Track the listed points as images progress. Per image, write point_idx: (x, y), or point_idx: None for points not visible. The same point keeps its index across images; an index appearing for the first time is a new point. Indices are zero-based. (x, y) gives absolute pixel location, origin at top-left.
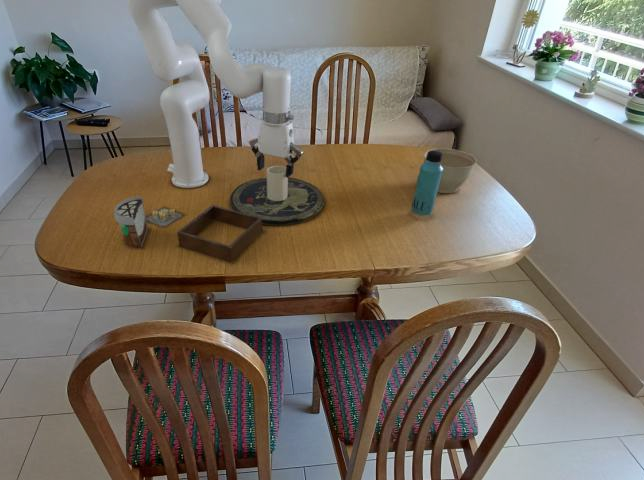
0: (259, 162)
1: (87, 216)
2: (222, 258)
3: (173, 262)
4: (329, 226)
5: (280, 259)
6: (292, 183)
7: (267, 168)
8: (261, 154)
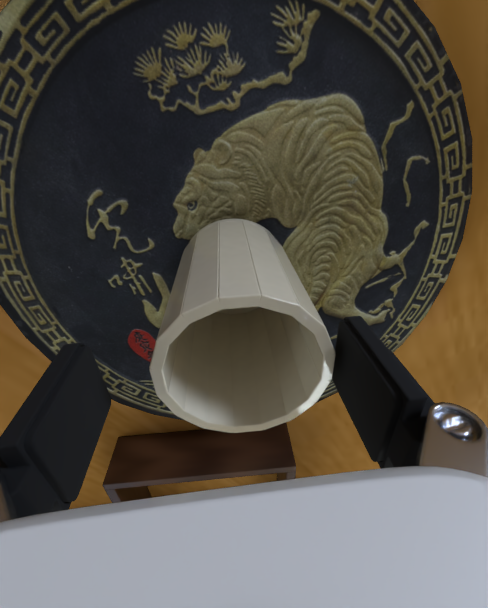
0: (84, 467)
1: None
2: None
3: None
4: (484, 317)
5: (371, 466)
6: (220, 34)
7: (157, 390)
8: (21, 511)
